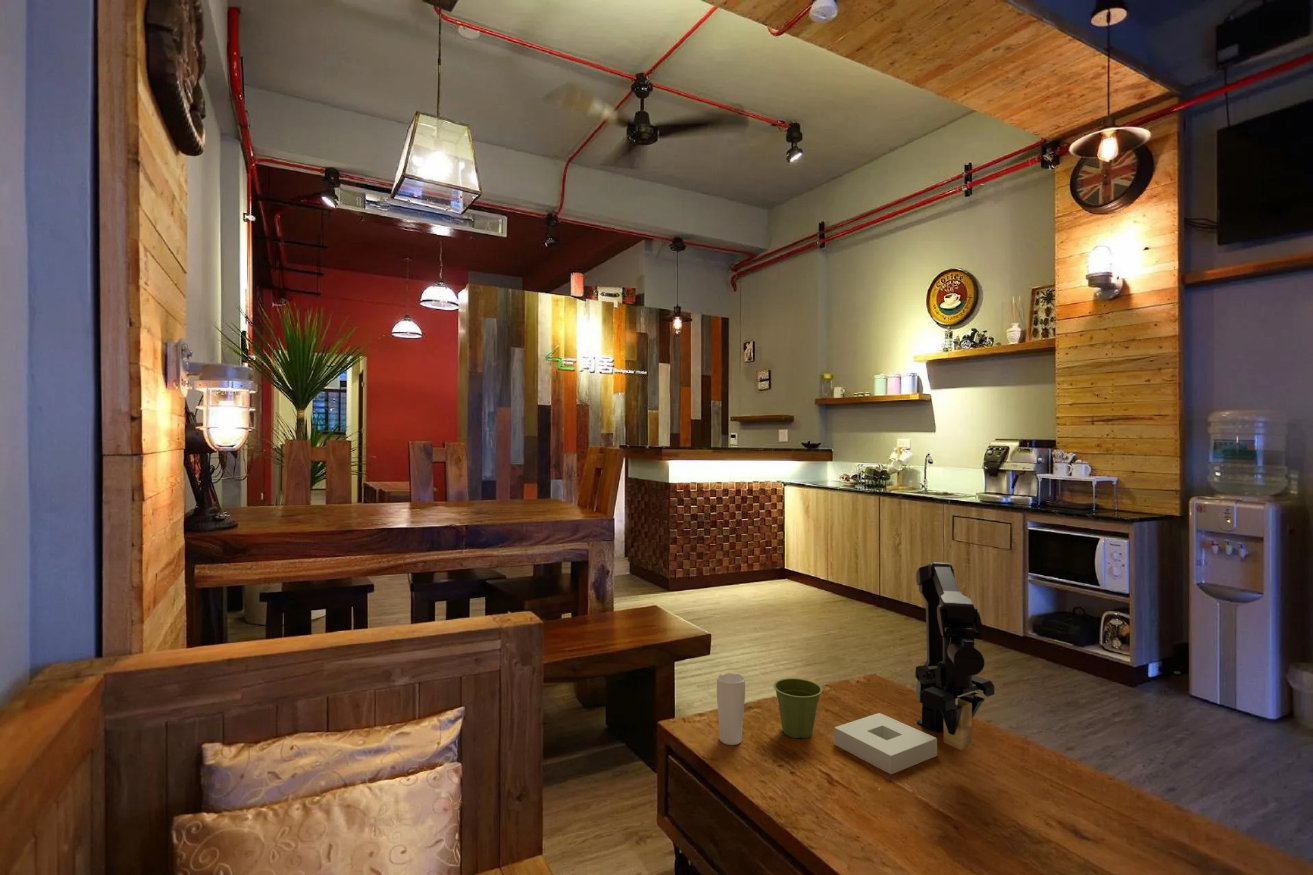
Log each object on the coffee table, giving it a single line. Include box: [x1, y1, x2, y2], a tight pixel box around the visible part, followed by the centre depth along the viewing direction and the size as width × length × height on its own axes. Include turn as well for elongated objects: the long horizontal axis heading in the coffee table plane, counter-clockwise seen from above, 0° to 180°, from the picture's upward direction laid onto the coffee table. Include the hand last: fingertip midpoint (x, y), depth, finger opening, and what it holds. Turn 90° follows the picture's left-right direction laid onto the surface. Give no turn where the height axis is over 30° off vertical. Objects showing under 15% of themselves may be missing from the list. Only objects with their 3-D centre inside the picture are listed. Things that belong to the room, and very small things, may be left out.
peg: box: [943, 698, 973, 751], centre depth 136 cm, size 4×4×9 cm
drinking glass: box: [716, 672, 746, 746], centre depth 150 cm, size 7×7×15 cm
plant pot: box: [773, 677, 823, 739], centre depth 155 cm, size 12×12×11 cm
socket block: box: [833, 712, 938, 775], centre depth 146 cm, size 16×16×4 cm
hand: (957, 731), depth 136 cm, fingers closed on peg, 4 cm apart
